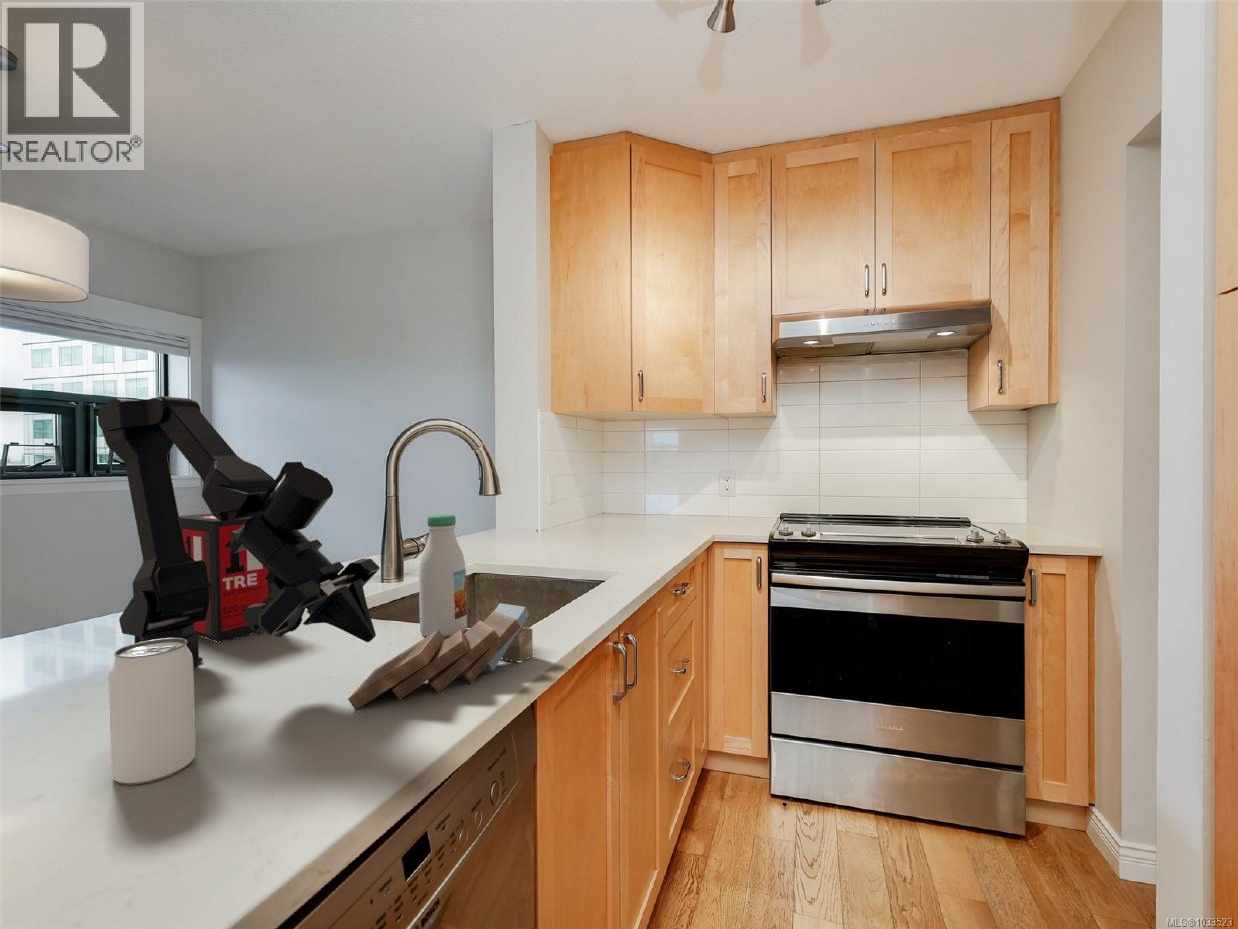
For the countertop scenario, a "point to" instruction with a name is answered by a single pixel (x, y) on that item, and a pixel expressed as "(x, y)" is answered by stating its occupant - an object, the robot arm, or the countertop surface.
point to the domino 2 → (434, 664)
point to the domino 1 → (397, 669)
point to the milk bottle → (442, 580)
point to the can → (151, 710)
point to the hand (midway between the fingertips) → (372, 639)
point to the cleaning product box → (224, 575)
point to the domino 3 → (466, 654)
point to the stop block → (520, 646)
